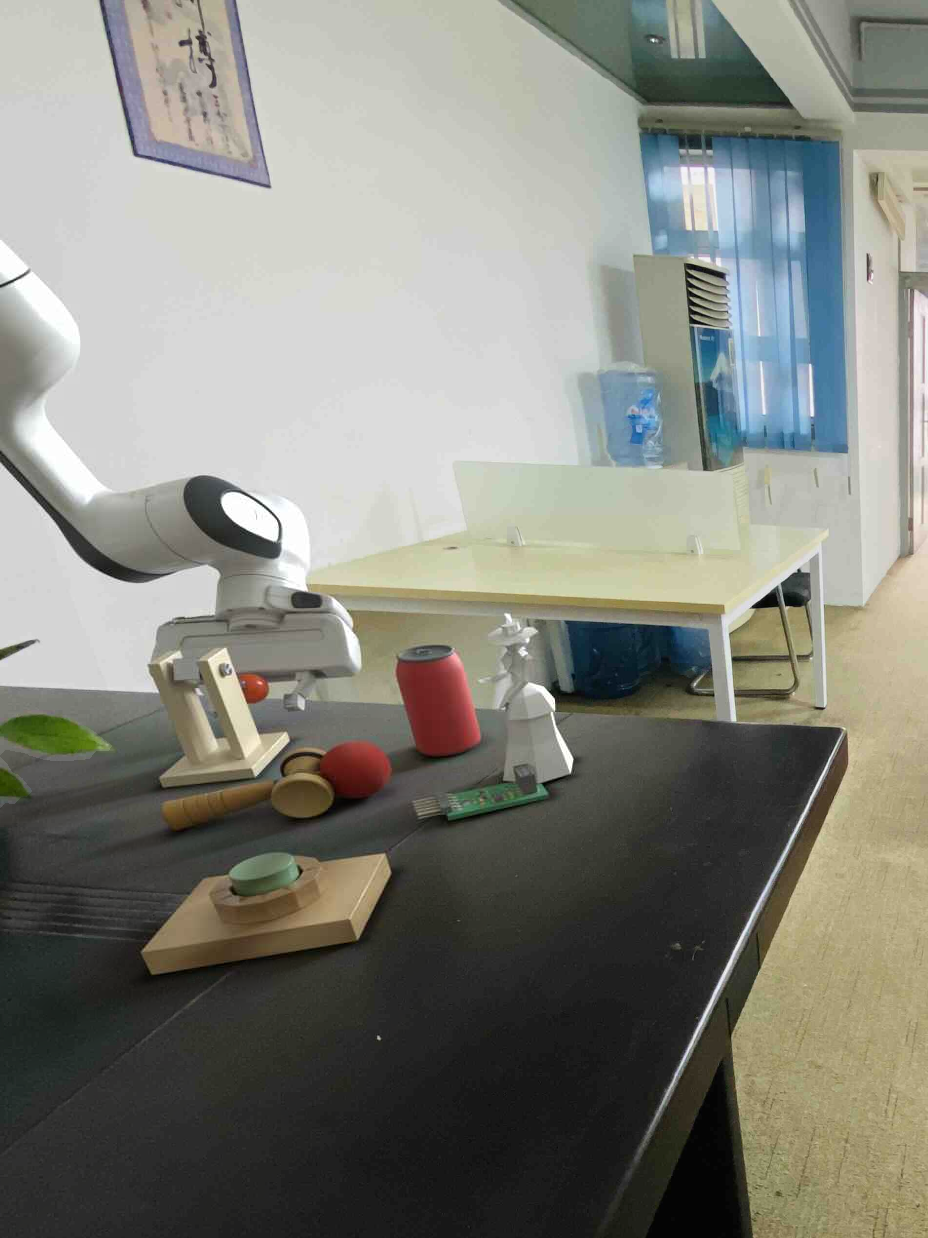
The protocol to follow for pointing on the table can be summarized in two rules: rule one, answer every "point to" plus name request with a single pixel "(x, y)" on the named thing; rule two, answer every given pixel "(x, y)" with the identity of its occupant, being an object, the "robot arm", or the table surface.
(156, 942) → the button block
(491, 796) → the circuit board
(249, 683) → the lever
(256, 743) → the bracket
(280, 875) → the button
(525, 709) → the figurine
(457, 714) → the beer can
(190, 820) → the kendama
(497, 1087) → the table surface
